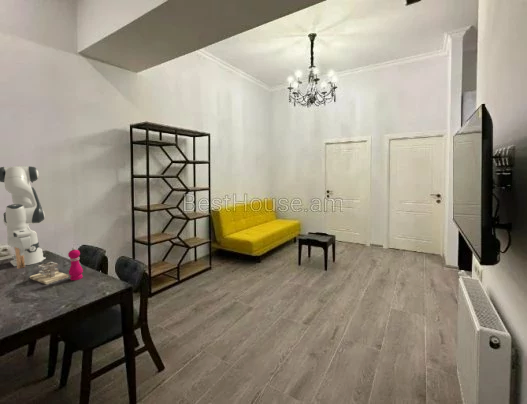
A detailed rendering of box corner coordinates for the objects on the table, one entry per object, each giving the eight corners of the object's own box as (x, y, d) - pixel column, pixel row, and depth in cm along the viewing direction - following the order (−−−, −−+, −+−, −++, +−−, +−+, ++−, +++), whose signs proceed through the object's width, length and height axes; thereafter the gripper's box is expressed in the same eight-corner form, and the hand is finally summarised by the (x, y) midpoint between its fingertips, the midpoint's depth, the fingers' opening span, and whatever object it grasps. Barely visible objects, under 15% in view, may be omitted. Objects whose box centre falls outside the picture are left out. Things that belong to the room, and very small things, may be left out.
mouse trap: (30, 278, 167) (28, 264, 166) (52, 271, 178) (50, 258, 177) (46, 284, 158) (44, 269, 157) (68, 277, 169) (67, 263, 167)
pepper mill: (76, 281, 162) (73, 249, 160) (66, 280, 163) (63, 248, 161) (86, 276, 169) (83, 246, 167) (76, 275, 170) (73, 245, 168)
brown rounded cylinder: (15, 268, 159) (13, 242, 157) (23, 266, 162) (21, 240, 160) (18, 269, 157) (16, 242, 155) (26, 267, 160) (24, 241, 158)
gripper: (2, 230, 159) (5, 253, 160) (18, 235, 149) (21, 258, 151) (16, 228, 164) (18, 250, 166) (32, 232, 155) (34, 255, 157)
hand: (19, 254), depth 158 cm, fingers closed on brown rounded cylinder, 4 cm apart
